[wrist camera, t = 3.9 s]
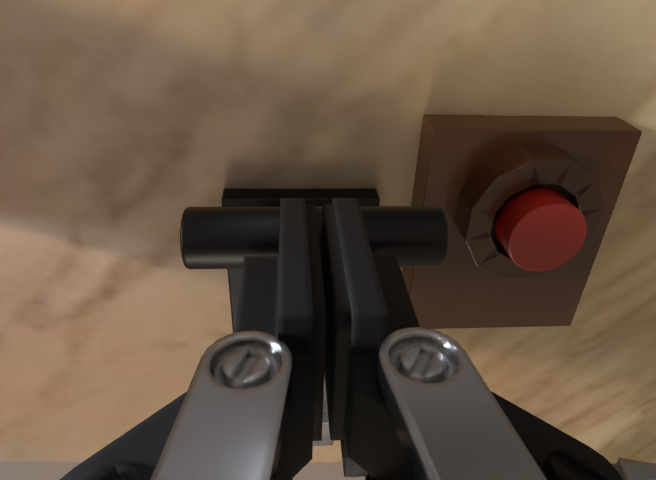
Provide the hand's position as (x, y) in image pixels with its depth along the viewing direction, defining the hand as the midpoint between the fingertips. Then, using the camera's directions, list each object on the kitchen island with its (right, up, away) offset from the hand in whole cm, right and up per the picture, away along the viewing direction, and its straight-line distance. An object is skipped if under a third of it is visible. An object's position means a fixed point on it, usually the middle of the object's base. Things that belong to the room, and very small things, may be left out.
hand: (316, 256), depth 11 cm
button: (+10, +1, +13) cm, 16 cm away
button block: (+10, +1, +17) cm, 20 cm away
